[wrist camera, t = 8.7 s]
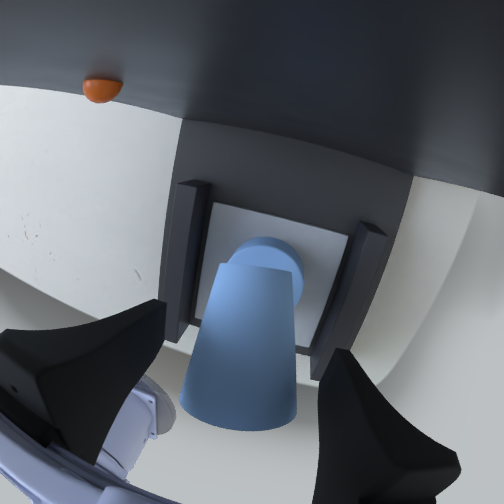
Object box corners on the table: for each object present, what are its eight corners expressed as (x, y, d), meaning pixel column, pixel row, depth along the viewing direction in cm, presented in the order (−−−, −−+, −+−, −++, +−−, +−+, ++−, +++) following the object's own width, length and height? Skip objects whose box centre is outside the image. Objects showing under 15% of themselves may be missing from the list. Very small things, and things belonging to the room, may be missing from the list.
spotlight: (298, 332, 18) (313, 228, 16) (288, 465, 9) (330, 326, 7) (223, 322, 19) (227, 219, 17) (168, 442, 10) (141, 298, 7)
